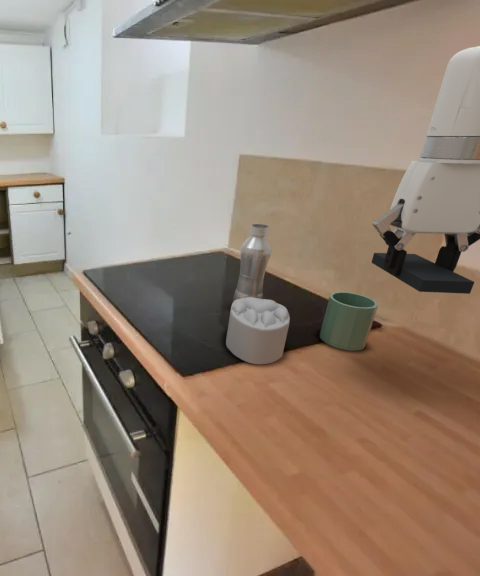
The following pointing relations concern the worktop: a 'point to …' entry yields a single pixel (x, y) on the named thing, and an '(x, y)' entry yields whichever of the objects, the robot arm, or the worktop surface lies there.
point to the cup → (348, 320)
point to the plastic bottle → (253, 263)
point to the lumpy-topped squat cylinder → (257, 330)
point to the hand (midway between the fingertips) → (416, 272)
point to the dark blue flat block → (427, 275)
